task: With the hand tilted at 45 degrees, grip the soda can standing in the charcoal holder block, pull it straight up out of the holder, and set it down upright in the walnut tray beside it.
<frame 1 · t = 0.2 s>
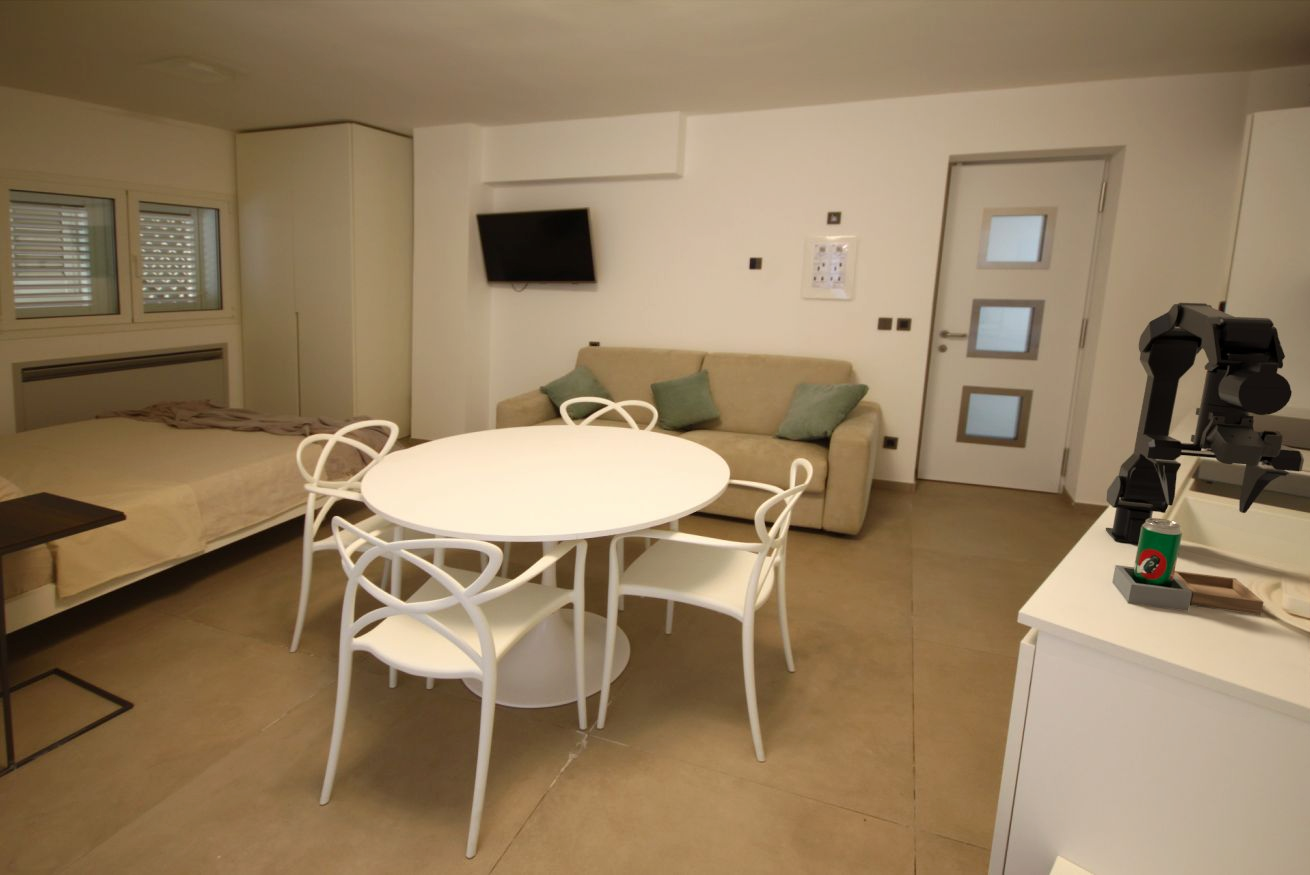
hand: (1205, 508, 106), 15 cm above the counter, tool pointing down, fingers open, 9 cm apart
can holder: (1148, 596, 110), on the counter
soda can: (1148, 597, 110), resting in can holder
walnut tray: (1212, 597, 110), on the counter
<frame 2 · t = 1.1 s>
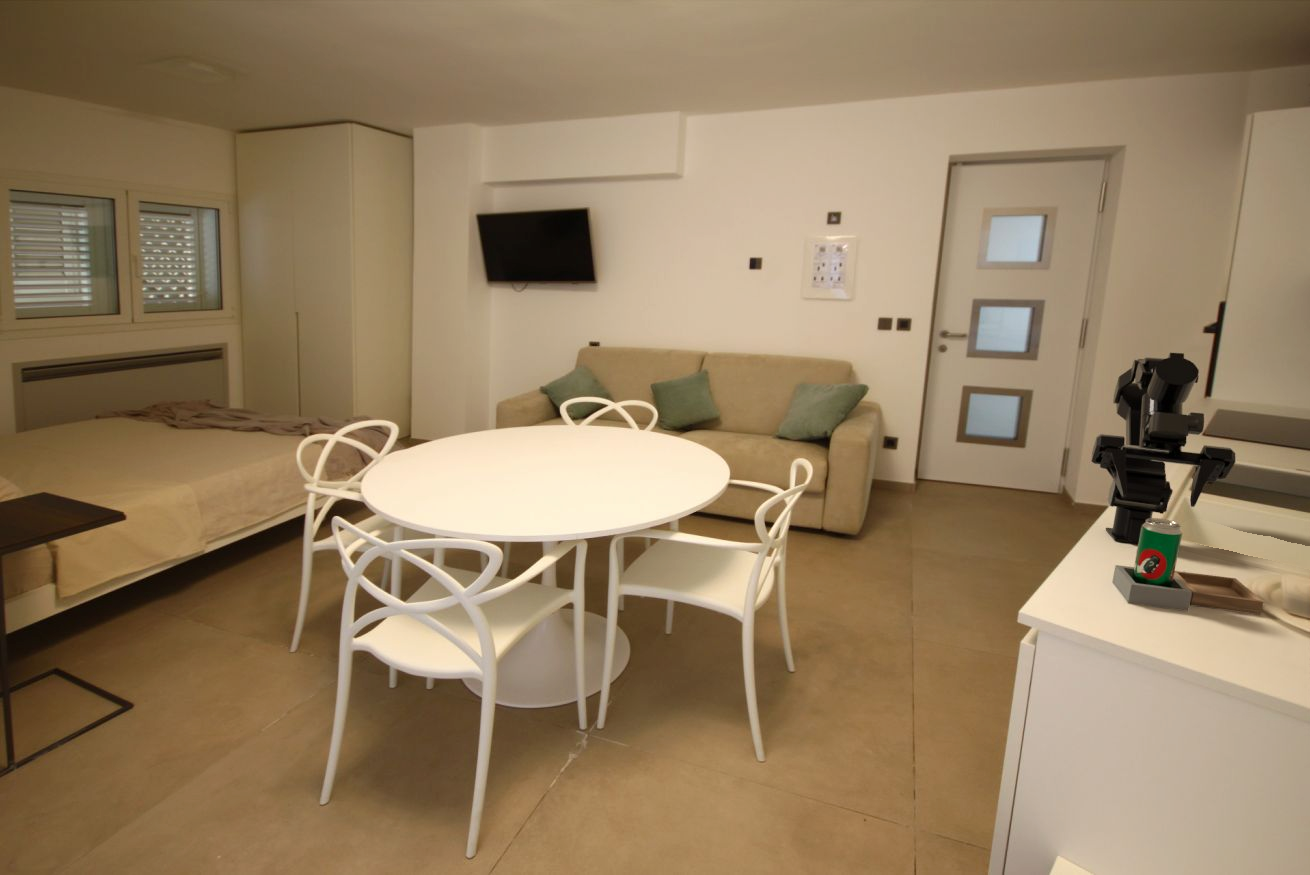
hand: (1158, 500, 114), 13 cm above the counter, tool tilted 45°, fingers open, 9 cm apart
nothing on the counter moved.
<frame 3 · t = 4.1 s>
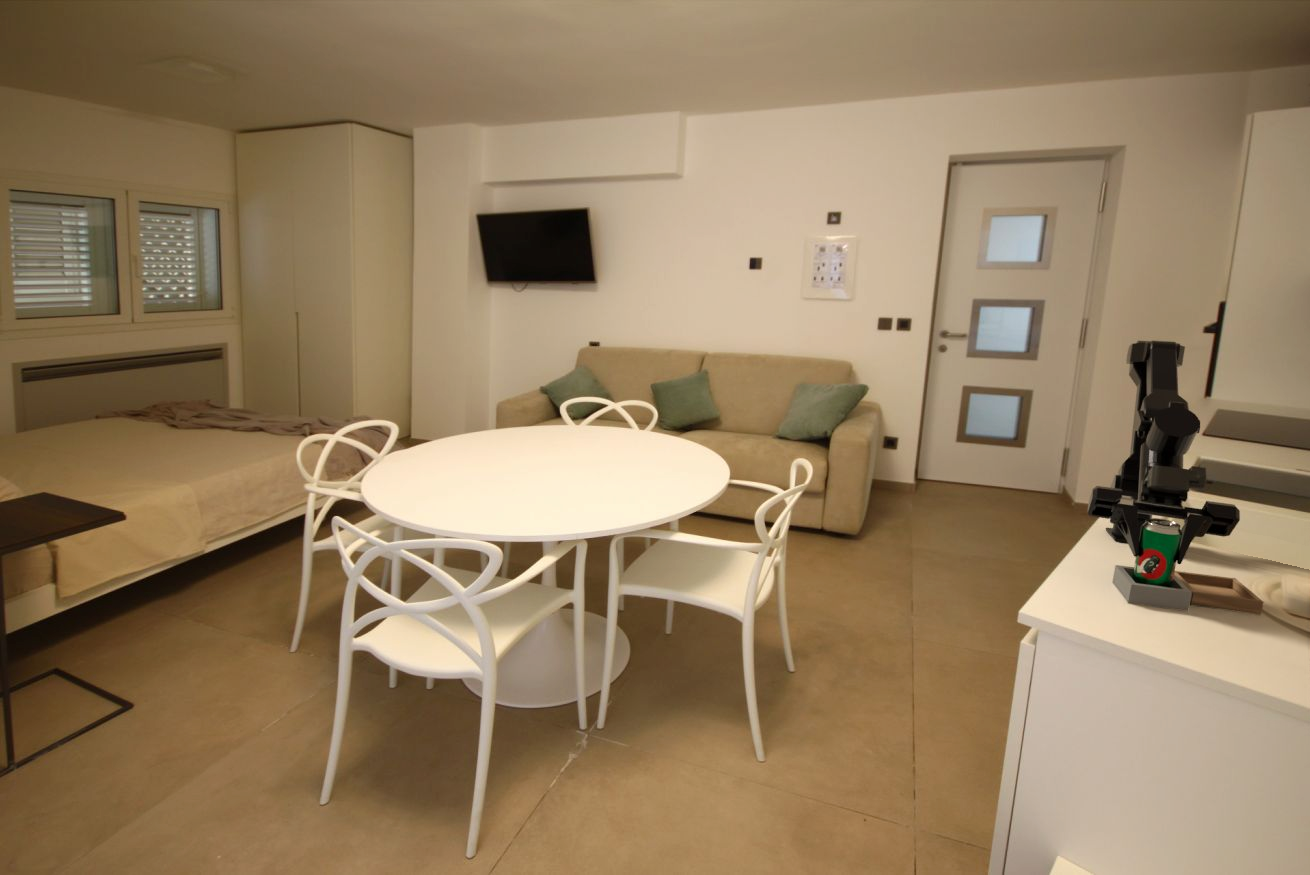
hand: (1157, 559, 107), 7 cm above the counter, tool tilted 45°, fingers closed on soda can, 5 cm apart
soda can: (1148, 597, 110), resting in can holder, touching gripper
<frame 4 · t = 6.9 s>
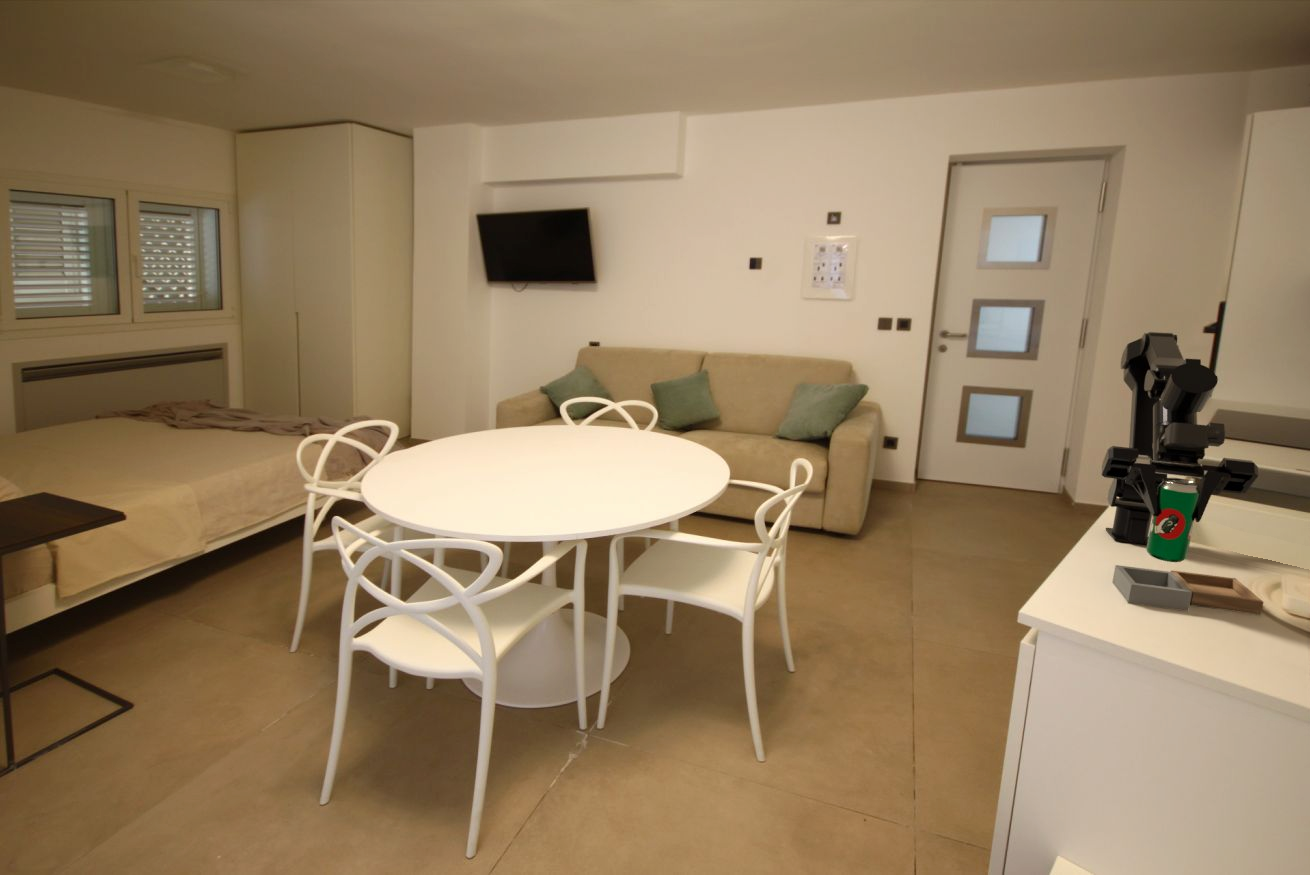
hand: (1176, 517, 106), 13 cm above the counter, tool tilted 45°, fingers closed on soda can, 5 cm apart
soda can: (1165, 558, 108), point 6 cm above the counter, touching gripper
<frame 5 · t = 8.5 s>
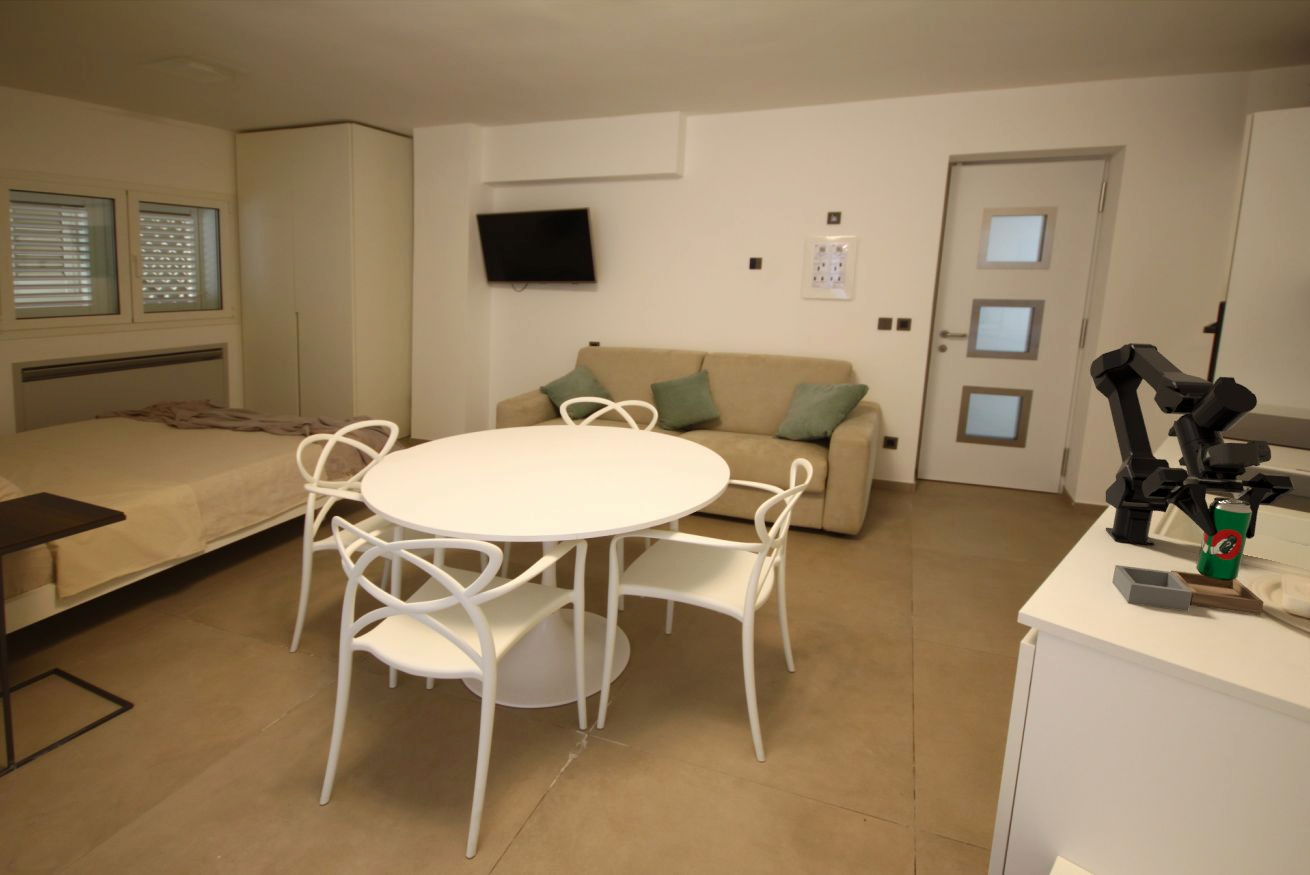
hand: (1231, 536, 106), 10 cm above the counter, tool tilted 45°, fingers closed on soda can, 5 cm apart
soda can: (1215, 576, 109), point 3 cm above the counter, touching gripper
when the fingers open (8 cm above the counter, at t = 9.7 s): soda can stays where it is, resting on walnut tray.
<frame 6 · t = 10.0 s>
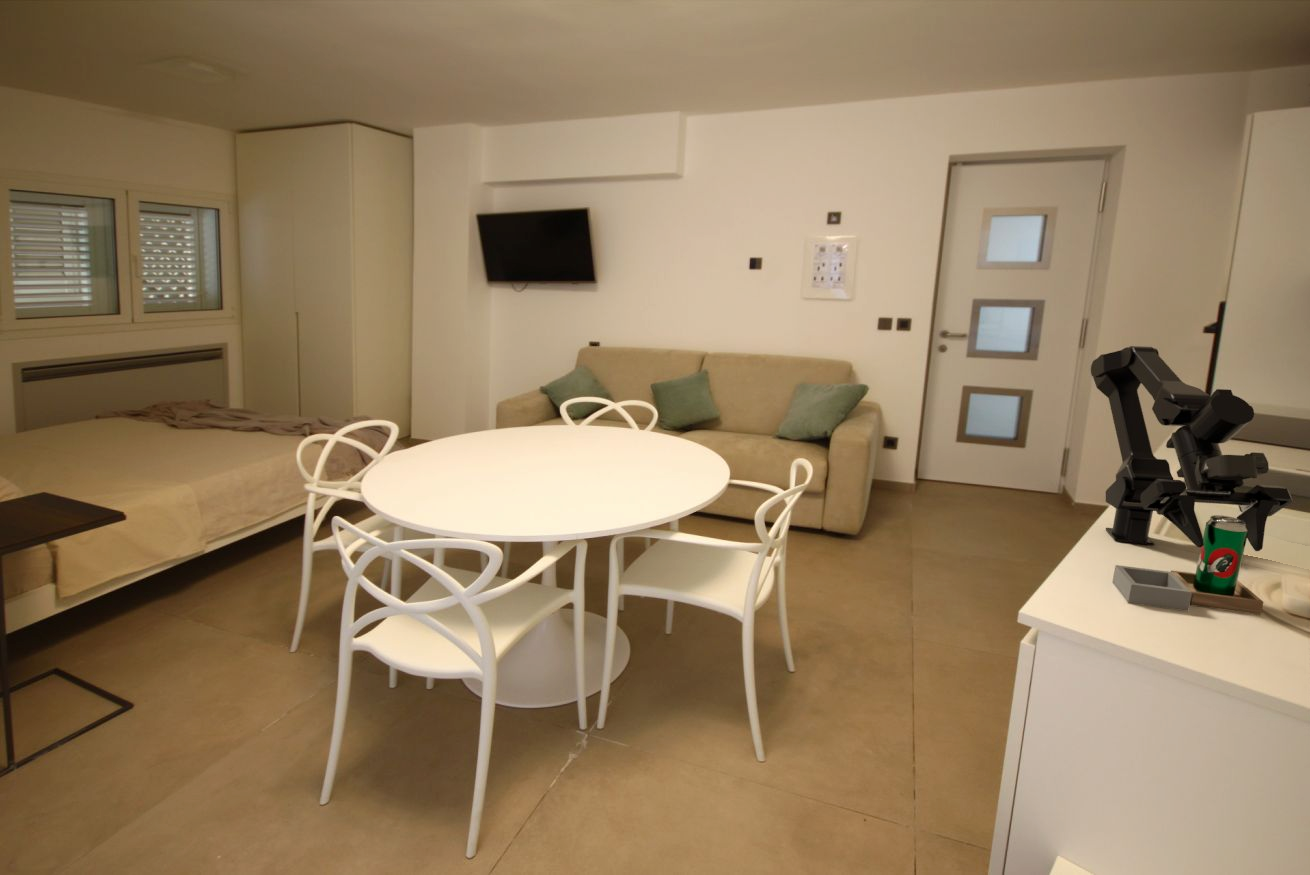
hand: (1229, 548, 107), 9 cm above the counter, tool tilted 45°, fingers open, 8 cm apart
soda can: (1212, 594, 110), resting on walnut tray
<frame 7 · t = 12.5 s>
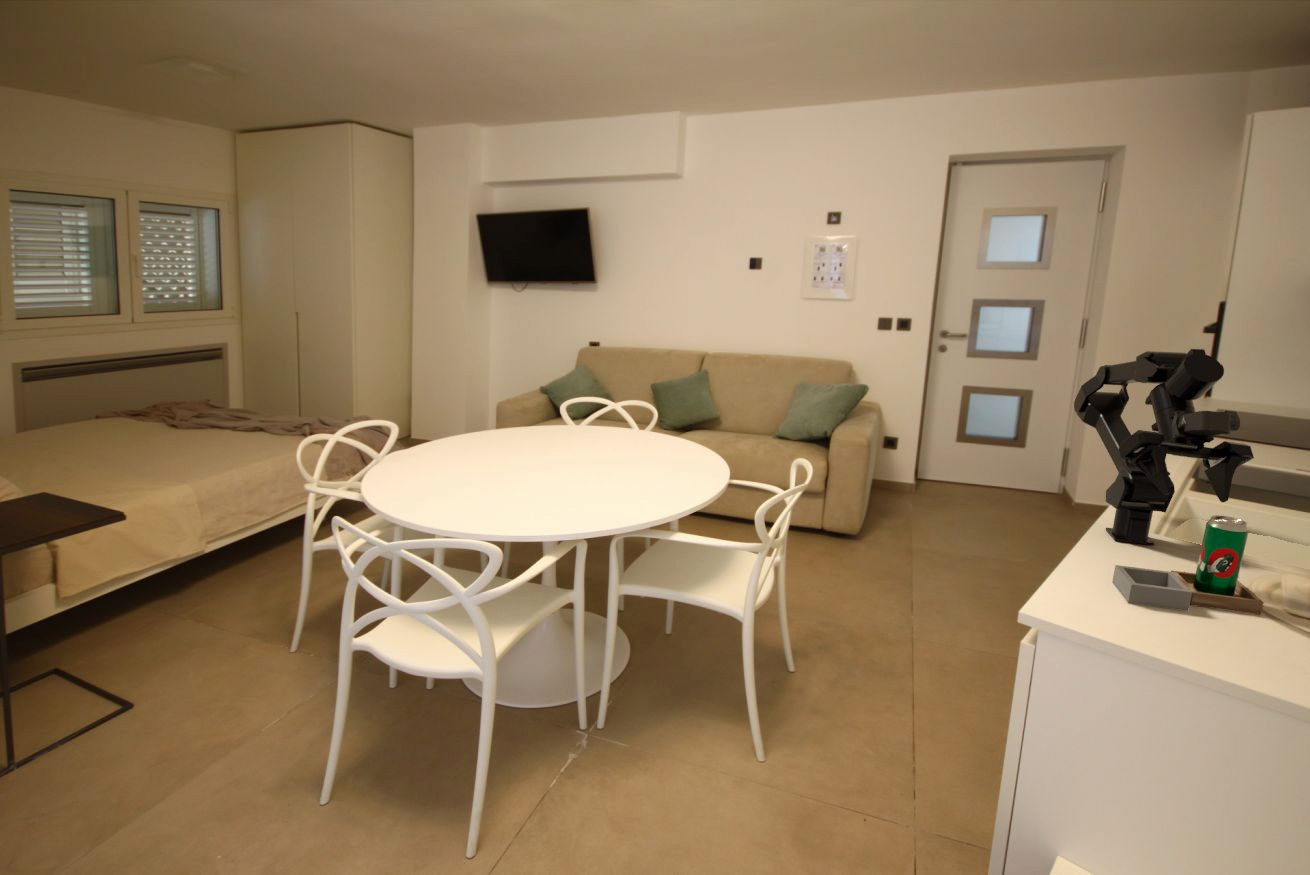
hand: (1196, 497, 115), 14 cm above the counter, tool tilted 40°, fingers open, 9 cm apart
nothing on the counter moved.
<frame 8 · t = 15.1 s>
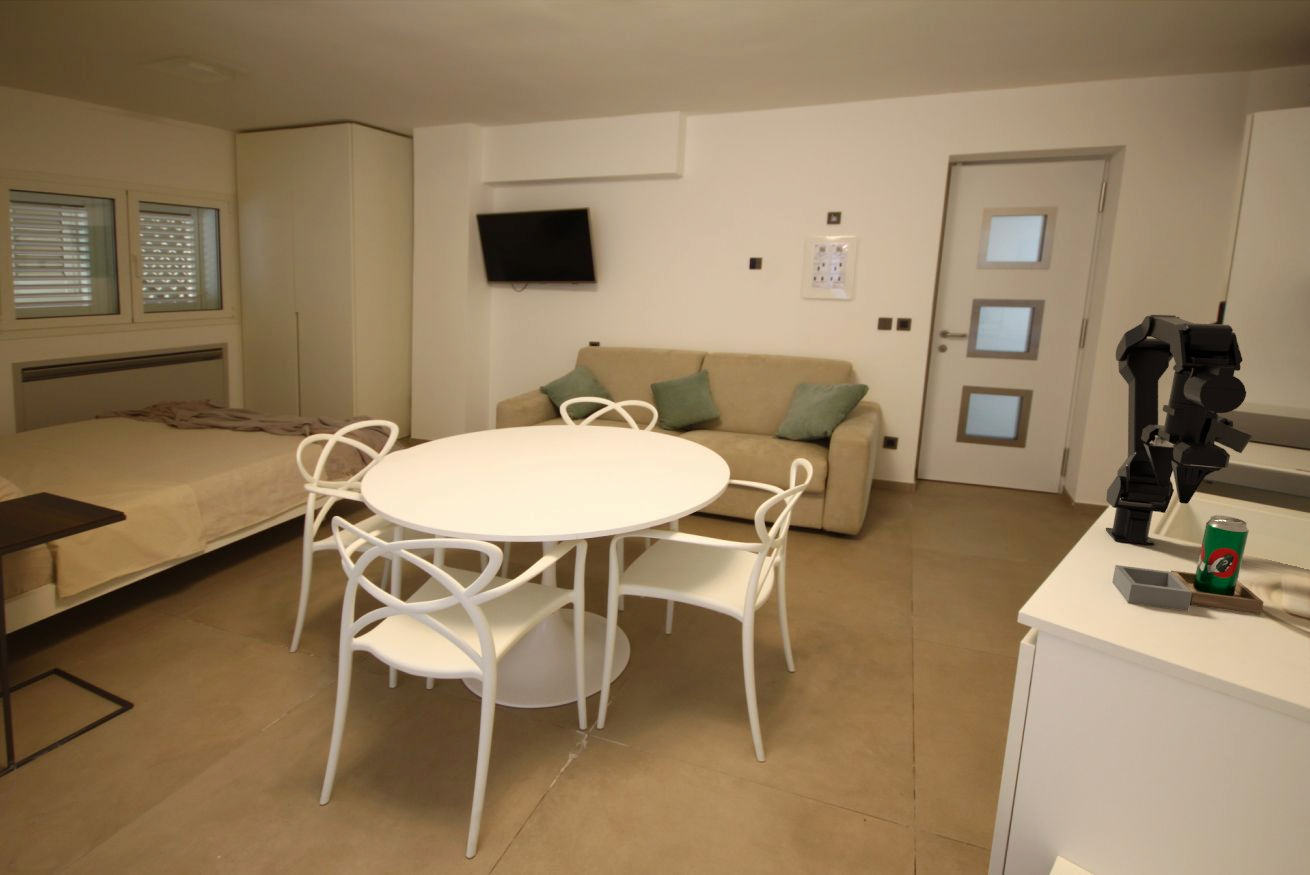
hand: (1172, 495, 118), 13 cm above the counter, tool pointing down, fingers open, 9 cm apart
nothing on the counter moved.
at the end: soda can 0.1 cm off-centre on the walnut tray, point 0.4 cm above the walnut tray's base; soda can tilted 0°; the gripper is holding nothing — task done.
